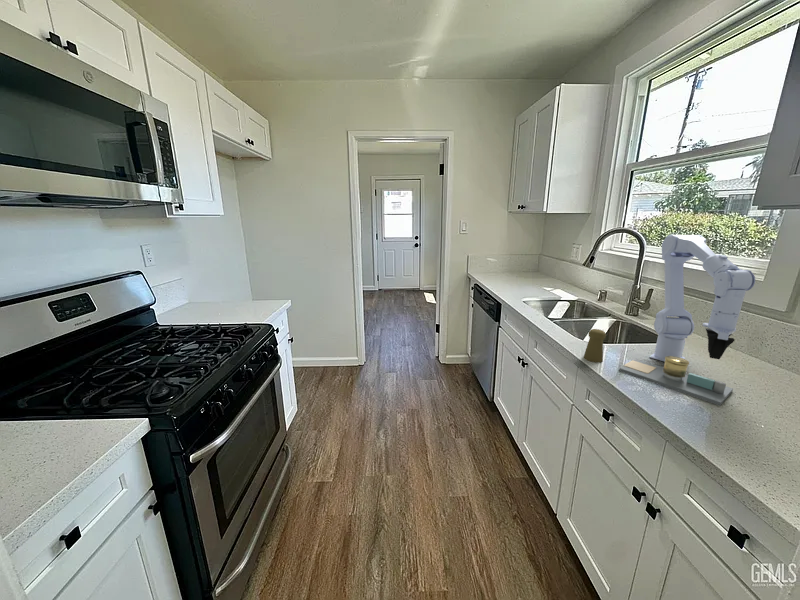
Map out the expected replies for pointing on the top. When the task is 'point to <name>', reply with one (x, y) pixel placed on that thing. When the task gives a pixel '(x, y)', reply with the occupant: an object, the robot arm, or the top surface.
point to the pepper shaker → (595, 346)
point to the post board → (672, 381)
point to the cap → (675, 366)
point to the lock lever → (706, 383)
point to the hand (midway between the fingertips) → (713, 355)
